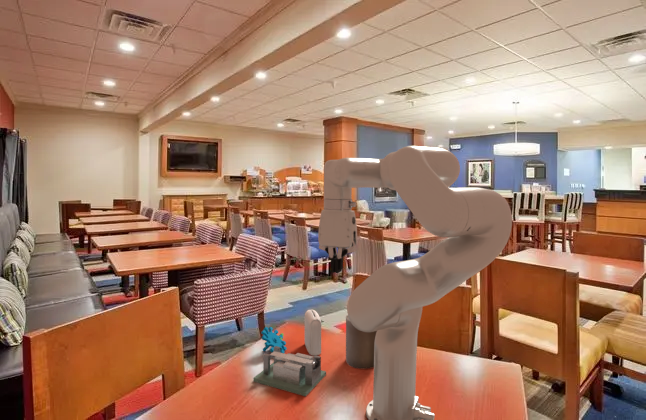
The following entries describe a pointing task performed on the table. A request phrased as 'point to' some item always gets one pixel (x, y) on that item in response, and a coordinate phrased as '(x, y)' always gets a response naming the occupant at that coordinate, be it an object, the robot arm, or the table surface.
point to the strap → (292, 358)
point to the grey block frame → (293, 369)
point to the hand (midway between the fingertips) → (336, 271)
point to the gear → (273, 340)
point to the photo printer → (313, 332)
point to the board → (300, 390)
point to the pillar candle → (359, 347)
